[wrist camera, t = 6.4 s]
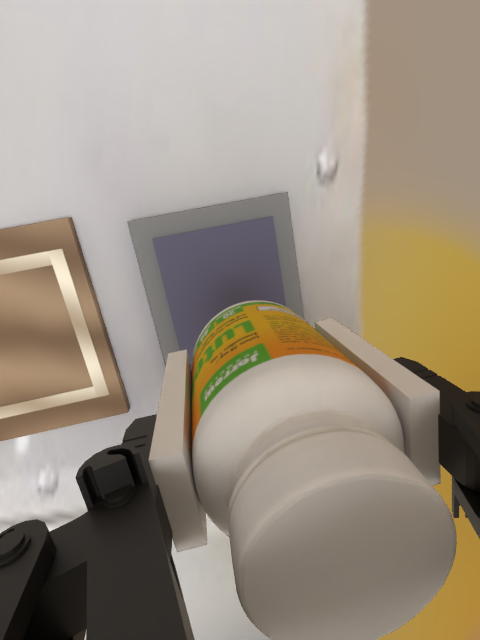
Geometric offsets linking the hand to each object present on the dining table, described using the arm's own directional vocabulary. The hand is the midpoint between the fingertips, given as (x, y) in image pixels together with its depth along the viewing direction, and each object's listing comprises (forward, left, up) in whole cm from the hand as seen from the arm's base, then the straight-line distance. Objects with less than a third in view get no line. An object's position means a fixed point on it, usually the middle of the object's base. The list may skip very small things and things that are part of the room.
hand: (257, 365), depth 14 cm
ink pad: (0, 0, -15) cm, 15 cm away
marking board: (0, +17, -15) cm, 22 cm away
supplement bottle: (0, 0, -1) cm, 1 cm away
